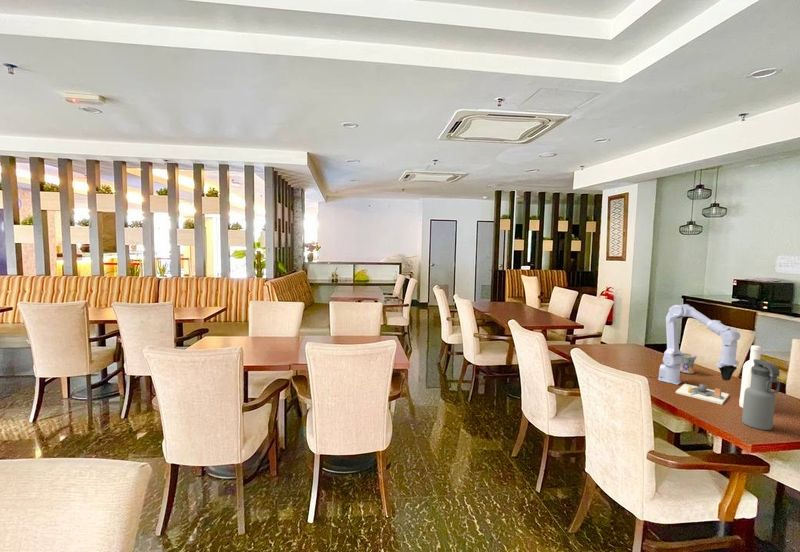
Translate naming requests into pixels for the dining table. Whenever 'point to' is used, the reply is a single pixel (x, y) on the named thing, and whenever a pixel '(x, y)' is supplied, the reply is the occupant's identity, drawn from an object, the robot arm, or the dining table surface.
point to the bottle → (748, 371)
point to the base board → (687, 391)
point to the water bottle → (760, 396)
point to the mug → (687, 363)
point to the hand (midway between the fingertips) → (726, 379)
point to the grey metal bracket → (709, 392)
